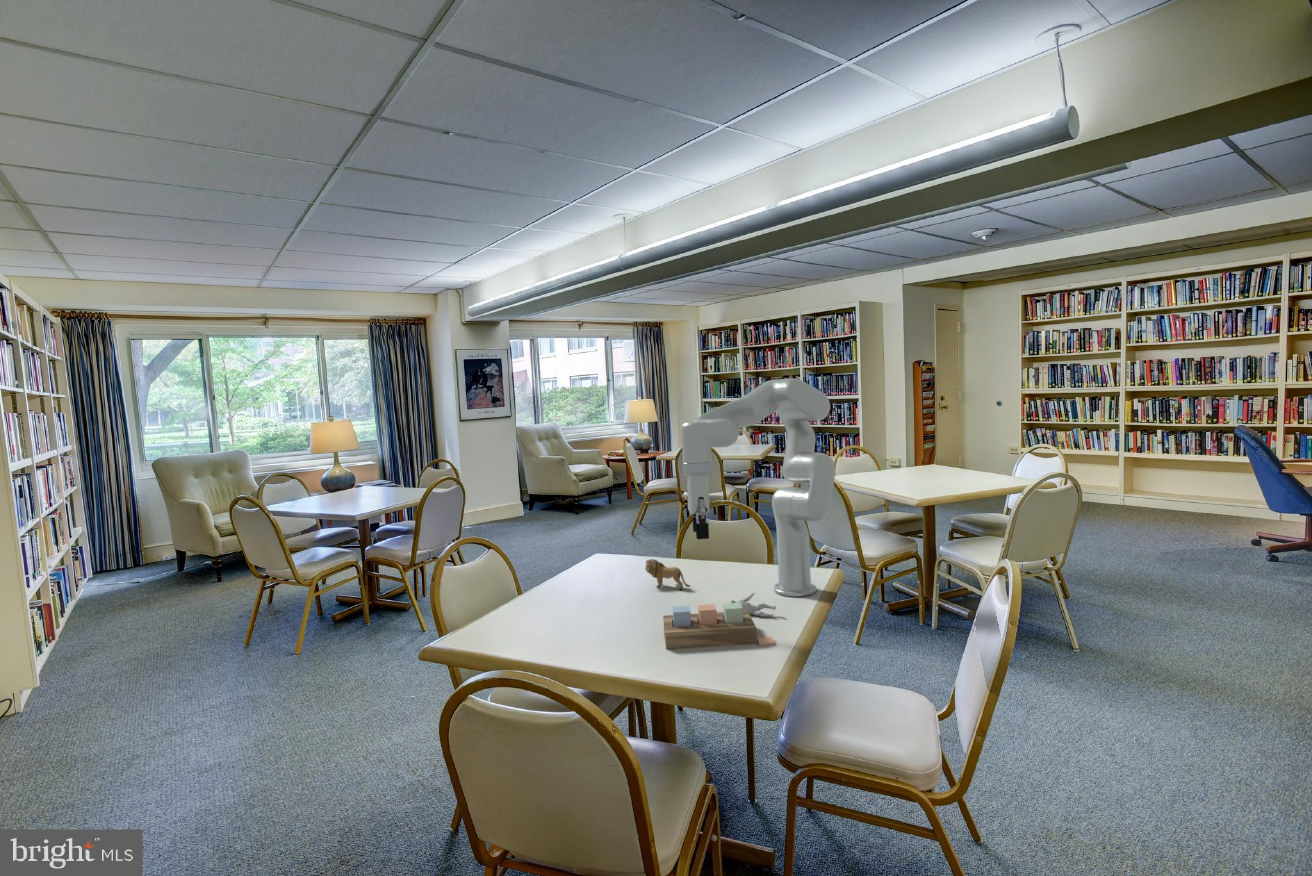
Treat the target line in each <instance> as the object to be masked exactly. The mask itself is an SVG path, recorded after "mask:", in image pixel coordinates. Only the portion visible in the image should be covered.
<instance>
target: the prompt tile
mask: <svg viewBox="0 0 1312 876" xmlns="http://www.w3.org/2000/svg"><path fill="white" fill-rule="evenodd" d="M756 639H757V643H758V646H759V647H762V646H775V645H776V643H775V641H774V639H773V637H772V636H764V637H763V636H762V637H761V636H760V637H756Z"/></svg>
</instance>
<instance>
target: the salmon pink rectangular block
mask: <svg viewBox="0 0 1312 876" xmlns="http://www.w3.org/2000/svg"><path fill="white" fill-rule="evenodd" d="M697 609H698V611H697V612H698V613H697V614H699V625H711V624H717V612H718V610H717V607H716V604H714V603H713V604H712V603H711V604H698V605H697Z"/></svg>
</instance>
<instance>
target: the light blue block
mask: <svg viewBox="0 0 1312 876" xmlns="http://www.w3.org/2000/svg"><path fill="white" fill-rule="evenodd" d="M691 614H692V612H691V609H690V605H681V606H672V615H673V624H674V627H681V626H691Z"/></svg>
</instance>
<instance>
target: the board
mask: <svg viewBox="0 0 1312 876" xmlns="http://www.w3.org/2000/svg"><path fill="white" fill-rule="evenodd" d="M662 617H663V633H664V641H665V649H666V650H668V649H669V650H671V649H672V650H673V649H686V648H689V649H690V648H700V647H715V646H716V647H718V646H719V647H720V646H732V645H733V646H734V645H746V644H748V645H749V644H757V643H758V641H757V626H756V624H755V622H754V621H753V618H752V615H751V614H749V613H748V611H747V610H744V611H743V622H742V623H727V624H725V622H724V611H717V624H711V625H699V614H698V613H691V626H681V627H674V624H673V614H672V615H671V614H670V615H667V614H666V615H663V616H662Z"/></svg>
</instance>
